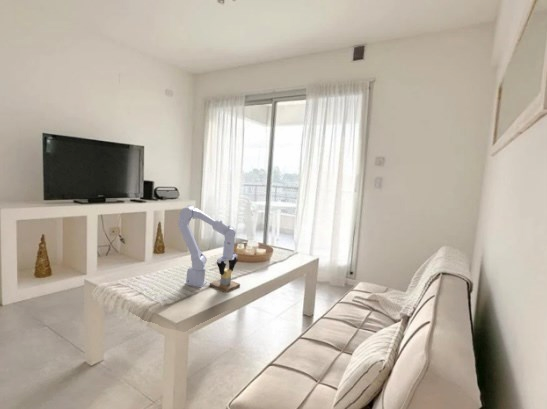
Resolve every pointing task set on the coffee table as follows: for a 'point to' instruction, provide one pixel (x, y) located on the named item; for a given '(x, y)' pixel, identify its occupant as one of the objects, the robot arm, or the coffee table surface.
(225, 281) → the grey block
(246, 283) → the coffee table surface
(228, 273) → the mustard block
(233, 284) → the walnut base
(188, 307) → the coffee table surface
